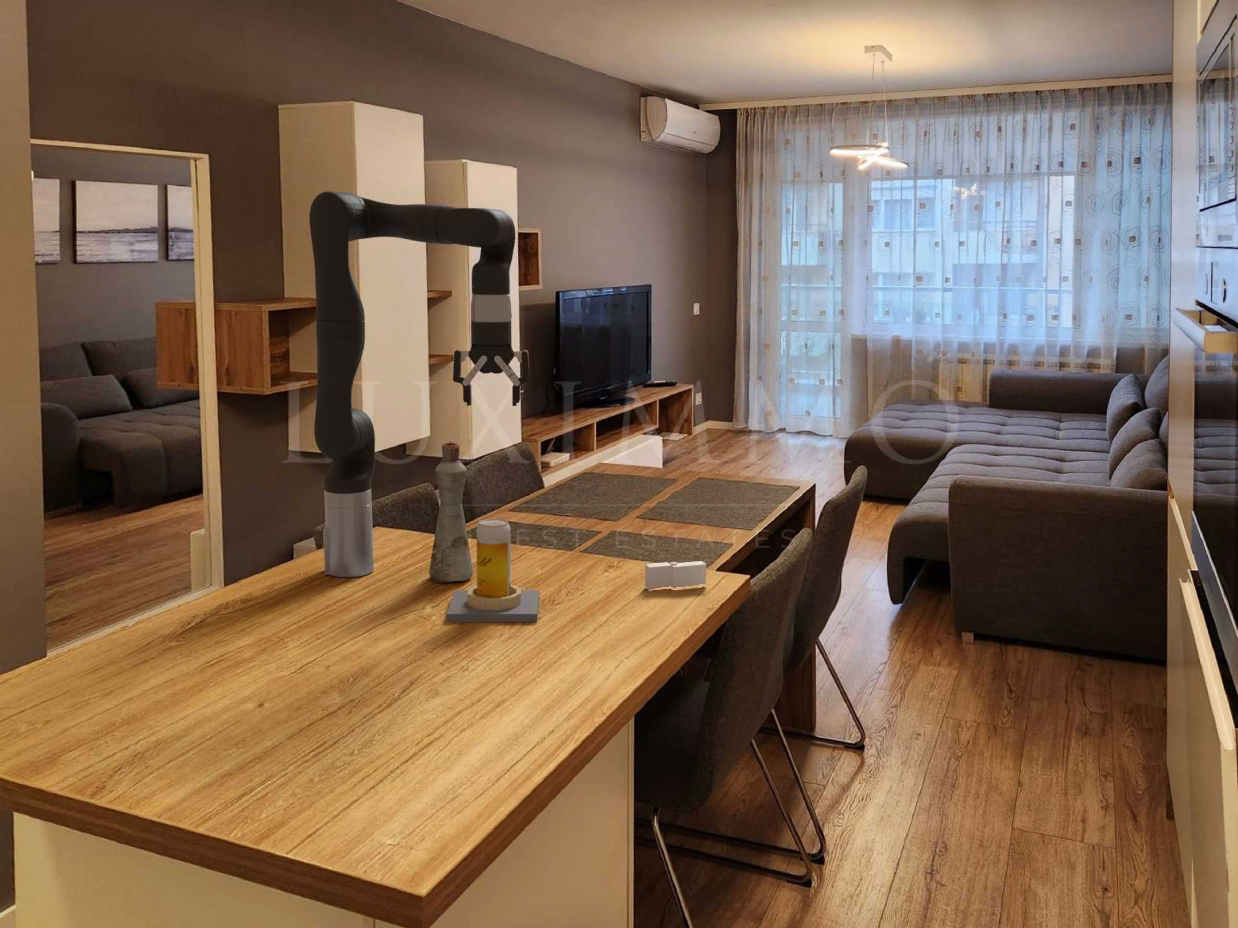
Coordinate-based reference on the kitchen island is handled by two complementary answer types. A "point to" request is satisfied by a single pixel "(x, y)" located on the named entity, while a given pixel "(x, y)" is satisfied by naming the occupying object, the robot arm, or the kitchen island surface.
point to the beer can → (493, 559)
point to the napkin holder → (674, 574)
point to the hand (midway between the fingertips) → (492, 405)
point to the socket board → (494, 606)
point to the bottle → (450, 521)
